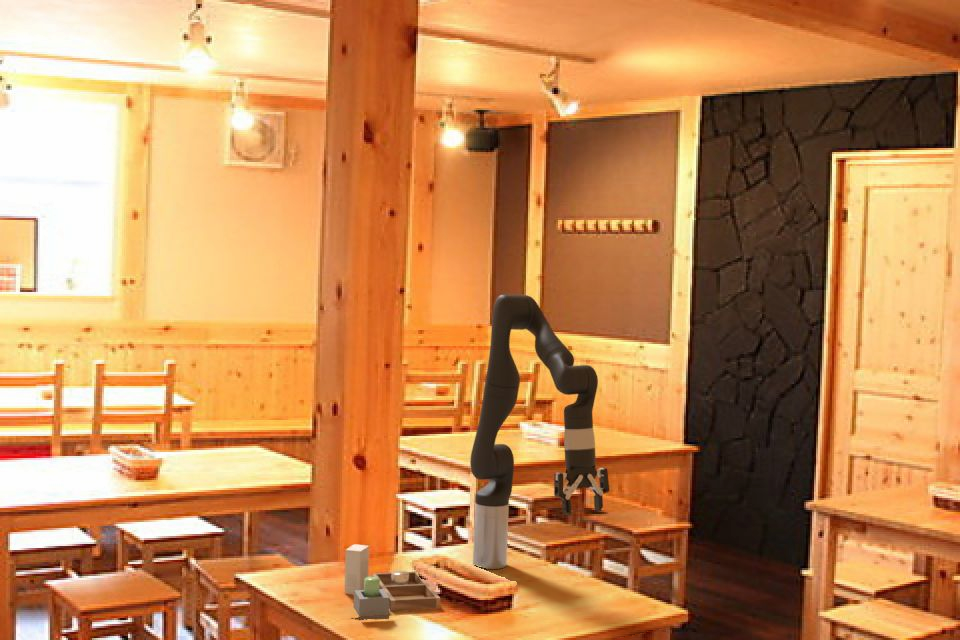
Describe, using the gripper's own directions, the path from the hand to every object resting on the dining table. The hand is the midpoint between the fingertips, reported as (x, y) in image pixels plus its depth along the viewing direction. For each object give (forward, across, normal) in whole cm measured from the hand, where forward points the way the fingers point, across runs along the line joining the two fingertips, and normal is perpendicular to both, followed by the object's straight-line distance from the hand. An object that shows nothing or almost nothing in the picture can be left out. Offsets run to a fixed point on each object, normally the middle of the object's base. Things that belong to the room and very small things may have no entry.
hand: (583, 512), depth 297 cm
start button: (+15, +52, -10) cm, 55 cm away
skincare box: (+18, +50, -27) cm, 60 cm away
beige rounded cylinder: (+18, +39, -25) cm, 50 cm away
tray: (+19, +40, -20) cm, 49 cm away
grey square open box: (+20, +52, -11) cm, 57 cm away
